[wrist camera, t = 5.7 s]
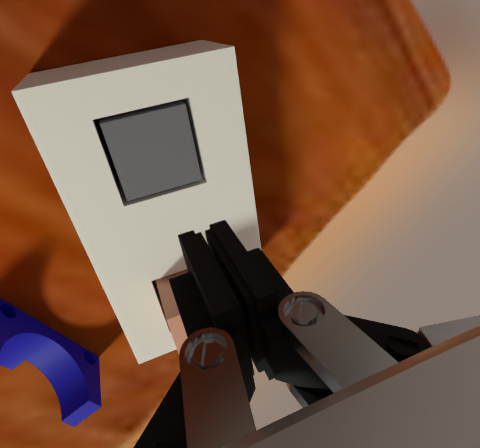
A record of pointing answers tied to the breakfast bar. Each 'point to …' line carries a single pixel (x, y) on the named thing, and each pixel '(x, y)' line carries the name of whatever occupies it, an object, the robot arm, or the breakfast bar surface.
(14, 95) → the block
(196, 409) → the robot arm
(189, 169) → the charcoal plunger
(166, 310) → the dusty pink cube
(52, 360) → the blue curved piece
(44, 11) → the breakfast bar surface
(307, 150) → the breakfast bar surface
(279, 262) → the breakfast bar surface
